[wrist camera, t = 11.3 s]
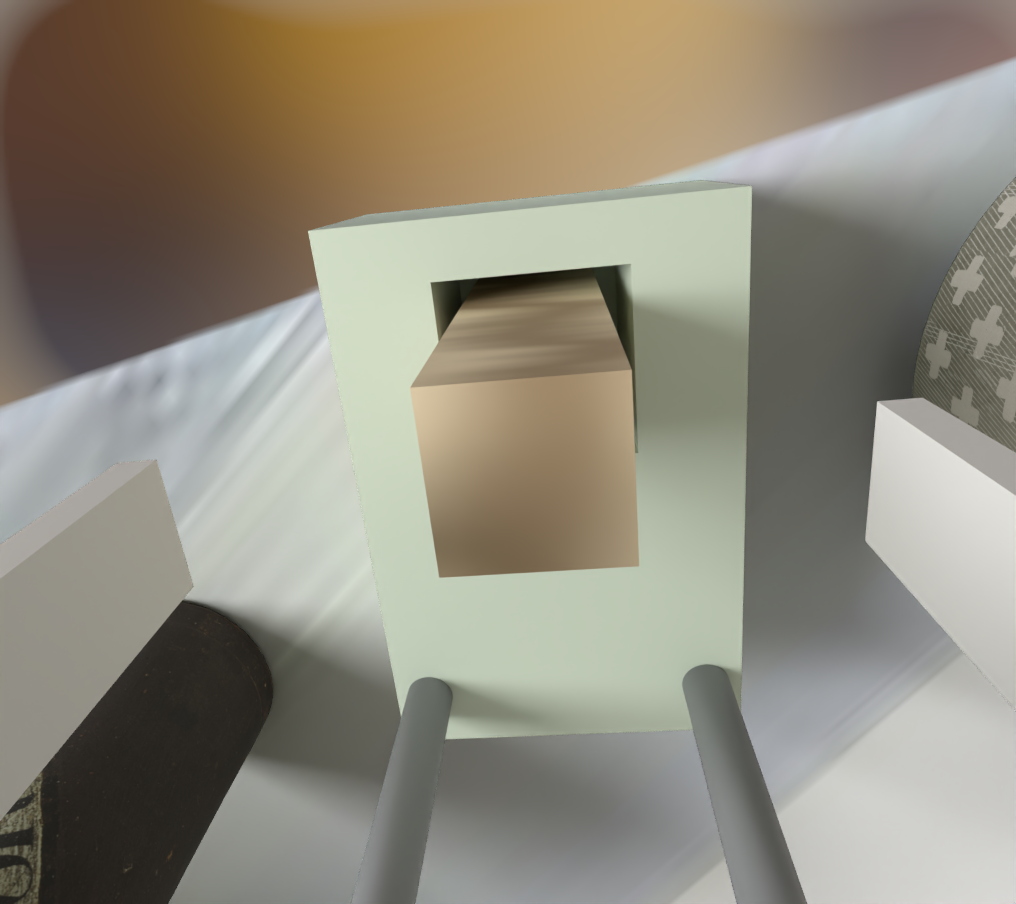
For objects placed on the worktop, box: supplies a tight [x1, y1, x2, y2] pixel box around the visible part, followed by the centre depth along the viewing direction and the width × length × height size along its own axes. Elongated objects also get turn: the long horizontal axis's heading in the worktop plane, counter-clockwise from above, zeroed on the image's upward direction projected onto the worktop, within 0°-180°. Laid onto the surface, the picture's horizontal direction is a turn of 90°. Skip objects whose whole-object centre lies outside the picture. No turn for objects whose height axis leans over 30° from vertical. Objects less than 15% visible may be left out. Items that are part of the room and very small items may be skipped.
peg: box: [410, 267, 639, 578], centre depth 20 cm, size 4×4×14 cm
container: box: [0, 602, 273, 904], centre depth 26 cm, size 9×9×20 cm
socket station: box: [308, 180, 807, 904], centre depth 18 cm, size 20×14×25 cm
